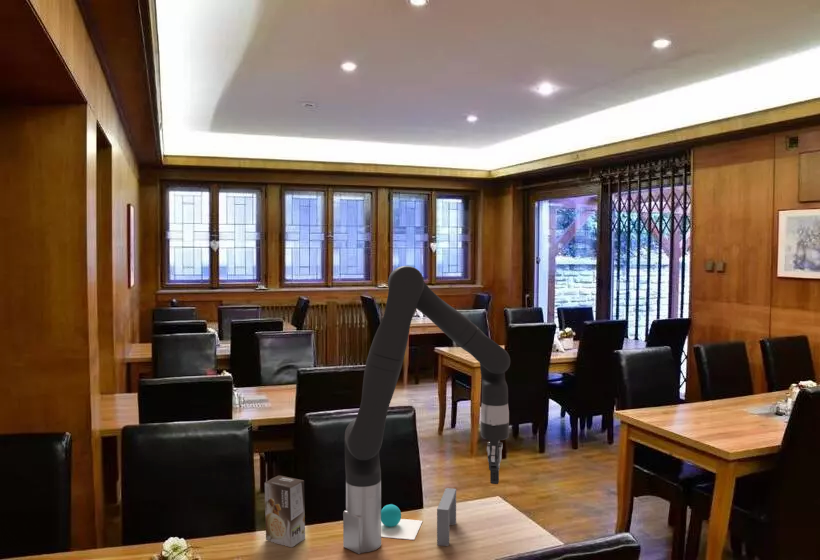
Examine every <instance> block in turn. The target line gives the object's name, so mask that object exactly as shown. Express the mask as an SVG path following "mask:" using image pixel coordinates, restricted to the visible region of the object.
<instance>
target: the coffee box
mask: <svg viewBox="0 0 820 560" xmlns="http://www.w3.org/2000/svg"><path fill="white" fill-rule="evenodd" d="M264 507H265V508H264V512H265V516H264V517H265V540H268V541H267V542H269V541H271V542H270V543H273V542H274V544H278V545H282V546H284V545H285V546H284V547H289V548H293V547H294V546H296V545H298V544H299V543H301V542H302V541H304V540H305V539H306V521H305V520H306V519H305V518H306V515H305V513H306V512H305V480H303V479H298V478H294V477H288V476H284V475H277V476H275V477H272V478H270V479H269V480H267V481H265V482H264Z"/></svg>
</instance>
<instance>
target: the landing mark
mask: <svg viewBox="0 0 820 560" xmlns="http://www.w3.org/2000/svg"><path fill="white" fill-rule="evenodd" d="M422 524H423V520H419V519H417V520H416V519H409V518H408V519H407V518H401V520H400V522H399V523H398V524H397V525H396V526H394V527H387V526H385V525H384V524H383V523H382V522H381V538H387V539H396V540H399V539H400V540H405V541H406V540H410V541H415V539H416V537H417V534H418V532H419V531H420V528H421V526H422Z"/></svg>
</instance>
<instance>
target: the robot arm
mask: <svg viewBox="0 0 820 560" xmlns="http://www.w3.org/2000/svg"><path fill="white" fill-rule="evenodd" d="M387 287H388V288H387V289H388V292H387V300H386V306H385V309H384V312H383V316H382V319H381V321H380V324H379V326H378V327H377V330H376V332H375V334H374V336H373V340H372V343H371V344H370V345H371V346H370V348H369V351H368V355H367V359H366V362H365V367H364V372H363V380H362V381H363V382H362V391H361V400H360V401H361V402H360V406H359V408H358V409H359V410H358V412H357V415H356V418H354V419H353V420H351V421H350V422H349V423H348V425H347V427H346V428H345V431H344V467H345V510H344V511H343V513H342V517H343V522H342V523H343V525H342V529H343V533H342V534H343V535H342V536H343V543H342V545H343V547H344V548H345V549H348V550H349V551H352V552H354V553H356V554H359V555H360V554H363V553H369V552H373V551H376V550H377V549H378V550H379V548H381V546H382V537H381V510H382V469H381V462H380V450H381V448H382V444H383V440H384V433H385V428H386V421H387V417H388V411H389V409H390V405H391V402H392V399H393V396H394V393H395V389H396V386H397V383H398V381H399V378H400V374H401V371H402V367H403V363H404V359H405V354H406V351H407V346H408V341H409V335H410V330H411V329H410V328H411V323H412V321H413V320H412V319H413V317H414V314H415V311H416V310H418V311H419V313H422V314H423V316H425V317H426V318H428V319H429V320H430V321H431V322H432V324H434V325H435V326H436V327H437V328H439V330H441V332H443V333H444V334H445V335H446V336H447V337H448V338H449V339H451V341H452V342H453V343H455V344H457V345H458V347H460V348H461V349H462V350H463V351H465V352H467V353H468V354H470V355H471V356H472V357H473V358H474V359H475V360H477V362H478V363H479V365H480V366H479V367H480V370H479V371H480V375H481V376H480V377H481V407H480V436H481V438H482V439H485V440H489V441H488V442H487V445H486V453H487V462H488V469H489V472H490V474H489V475H490V476H489V477H490V478H489V479H490V480H489V481H490V484H492V485H498V484H499V482H500V468H501V465H500V464H501V462H502V450H503V442H501V441H504V440H507V439H508V438H509V437H510V410H509V387H508V384H507V381H506V372H507V371H508V369H509V368H510V365H511V357H510V354H509V352H508V351H507V350H506V349H505V348H503V347H502V346H501V345H499V344H498V343H497V342H495V341H494V340H493V339H491V338H490V337H489V336H487V335H486V333H484V331H482V330H481V328H480V327H478V326H477V325H476V324H475V323H474V322H472V321H471V320H470V319H469V318H467V317H466V316H465V315H463V313H461V312H460V311H458V310H457V309H456V308H454V307H453V306H451V305H450V304H448V303H447V302H446V301H445V300H443V299H442V298H440V296H438V295H437V294H436V293H435V292H434V291H433V290H432V289H431V288H430V287H429V286H428V284H426V282H425V278H424V276H423V274H422V272H421V271H419V270H418V269H417V268H416V267H414V266H410V265H403V266H402V265H401V266H399V267H396V268H395V269H393V270H392V271H391V273H390V274H389V276H388V280H387Z"/></svg>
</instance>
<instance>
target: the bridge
mask: <svg viewBox="0 0 820 560" xmlns="http://www.w3.org/2000/svg"><path fill="white" fill-rule="evenodd" d="M456 524H457V488H451V487H450V488H449V487H446V488H445V489H444V491H443V494H442V496H441V499H440V501H439V504H438V506H437V508H436V525H437V526H436V546H443V547H449V545H450V525H452V526H456Z"/></svg>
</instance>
